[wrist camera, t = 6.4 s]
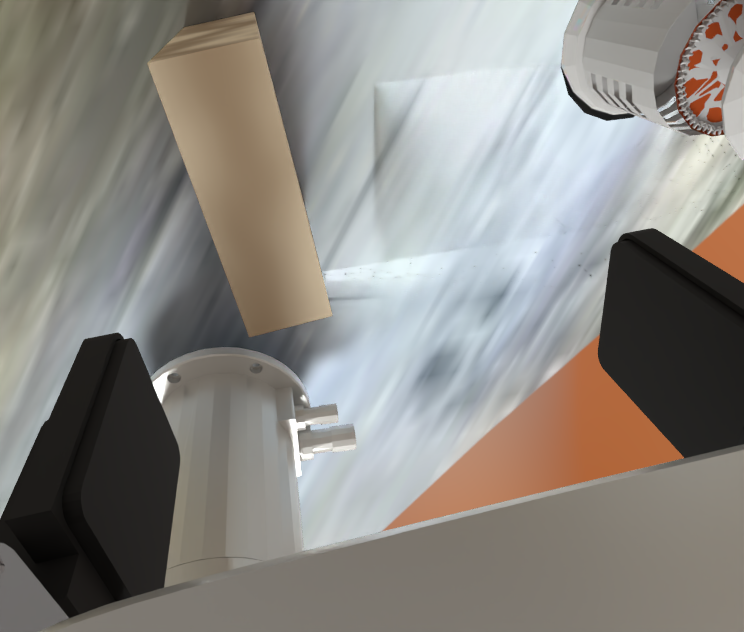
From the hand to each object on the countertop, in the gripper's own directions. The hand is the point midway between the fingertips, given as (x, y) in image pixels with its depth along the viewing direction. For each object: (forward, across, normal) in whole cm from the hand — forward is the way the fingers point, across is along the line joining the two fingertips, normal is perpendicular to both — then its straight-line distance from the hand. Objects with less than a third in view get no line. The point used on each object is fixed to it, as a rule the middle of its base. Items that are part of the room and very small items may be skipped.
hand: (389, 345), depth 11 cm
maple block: (+28, +3, +2) cm, 28 cm away
